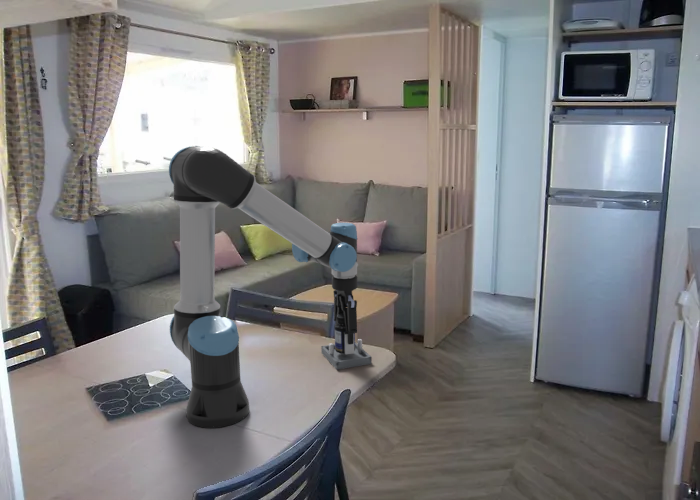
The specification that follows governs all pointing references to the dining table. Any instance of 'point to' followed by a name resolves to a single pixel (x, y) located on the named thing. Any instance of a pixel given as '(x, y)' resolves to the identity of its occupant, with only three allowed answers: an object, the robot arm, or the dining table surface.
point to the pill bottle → (340, 334)
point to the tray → (346, 356)
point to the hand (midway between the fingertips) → (345, 349)
